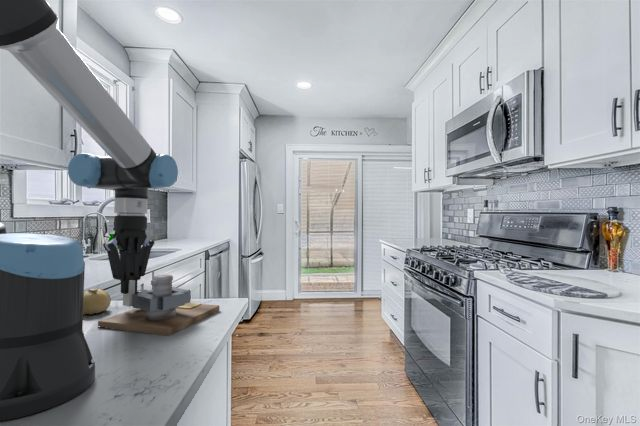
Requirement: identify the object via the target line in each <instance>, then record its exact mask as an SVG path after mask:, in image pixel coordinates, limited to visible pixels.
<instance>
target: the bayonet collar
mask: <svg viewBox="0 0 640 426" xmlns="http://www.w3.org/2000/svg"><path fill="white" fill-rule="evenodd" d="M186 303H191V289H190V290H189V289H185V288H179V287H175V286H172V293H171V294H166V295H161V296H155V295H152V289H137V291H136V292H135V293H134V294H132V306H131V307H132V308H133V309H136V308H138V309H141V310H145V311H148V312H153V311H157V310H167V309H171V308H176V307H180V306H184V305H185V304H186Z"/></svg>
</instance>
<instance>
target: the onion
mask: <svg viewBox="0 0 640 426" xmlns="http://www.w3.org/2000/svg"><path fill="white" fill-rule="evenodd" d="M111 302H112V297H111V295H110V293H109V292H107V291H106V290H103V289H100V287H98V288H89V289H88V290H86V291H84V297H83V315H84V314H89V315H93V314H94V313H96V314H98V313H102V311H103V312H106V310H108V309H109V307H110V306H111ZM94 315H95V314H94Z"/></svg>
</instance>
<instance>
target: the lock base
mask: <svg viewBox="0 0 640 426" xmlns="http://www.w3.org/2000/svg"><path fill="white" fill-rule="evenodd" d="M173 281H174V276H173V275H172V274H158V275H154V276H152V279H151V280H150V285H151V286H152V287H151V288H152V289H151V290H152V295H155V296H161V295H166V294H171V293H172V287H173ZM218 312H220V305H218V304H217V305H216V304H205V303H200V302H199V303H198V302H190V303H186V304H185V305H184V306H180V307H176V308H171V309H167V310H157V311H153V312H148V311H145V310H141V309H138V308H133V309H130V310H126V311H124V312H120V313H118V314H115V315H112V316H109V317H106V318H102V319H101V320H98V321H97V327H98V326H100V327H107V328H106V329H108V328H114V329H113V330H117V329H119V331H125V330H129V331H128V332H134V331H135V333H143V334H150V335H151V334H152V335H159V336H160V335H161V336H168V337H169V336H172V335H173V334H175V333H177V332H180V331H181V330H183V329H185V328H188V327H189V326H192V325H194V324H196V323H198V322H200V321H202V320H204V319H206V318H208V317H210V316H212V315H214V314H216V313H218ZM100 327H99V328H100Z"/></svg>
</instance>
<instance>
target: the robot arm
mask: <svg viewBox="0 0 640 426" xmlns="http://www.w3.org/2000/svg"><path fill="white" fill-rule="evenodd" d="M59 21H60V18H59V16H58V14H57V13H56V12H55V11H54V9H53V8H52V7H51V4H49V2H48V1H47V0H0V49H1V50H5V51H8V52H9V53H10V54H11V55H12V56H13V57H14V58H15V59H16V60H17V61H18V62H19V63H20V65H22V66H23V68H24V69H26V70H27V72H29V74H30V75H31V76H32V77H33V78H34V79H35V80H36V81H37V82H38V83H39V84H40V85H41V86H42V87H43V88H44V90H46V91H47V93H48V94H49V95H51V97H52V98H53V99H54V100H55V101H56V102H57V103H58V104H59V105H60V106H61V108H63V109H64V111H66V113H68V115H69V116H70V117H72V118H73V120H75V122H76V123H77V124H79V126H80V127H81V128H82V129H83V130H84V131H85V132H86V133H87V134H88V136H89V137H91V139H92V140H94V141H95V143H96V144H97V145H98V146H99V147H100V148H101V149H102V150H103V151H104V152H105V153H106V154H107V155H105V156H104V155H103V156H102V155H96V154H95V153H85V152H81V153H77V154H75V155H74V156H72V158H71V159H70V160H69V162H68V166H67V168H68V169H67V175H68V177H69V180H70V181H71V182H72V183H73V184H74V185H76V186H78V187H83V188H87V189H97V190H98V189H99V190H100V189H101V190H111V191H114V207H113V208H114V210H113V211H114V212H113V213H114V214H116V215H115V216H114V217H113V229H114V233H113V235H112V239H111V240H109V241H108V242H104V243H103V244H102V246H103V248H104V249H105V251H106V254H107V257H108V261H109V266H110V271H111V274H112V275H111V276H112V278H113V280H118V281H120V294H122V306H126V307H132V294H134V293H135V292H136V291H137V290H138V281H139V280H141V278H142V277H144V276H145V275H146V271H147V267H148V263H149V259H150V255H151V250H152V248H153V246H154V245H155V241H154V240H151V239H149V238H148V235H147V233H146V230H147V229H148V217H147V216H145V215H147V214H148V206H149V205H148V204H149V203H148V199H149V198H148V191H149V190H148V189H152V190H156V189H164V188H169V187H172V186H173V185H174V184H175V183H176V180H177V179H178V177H179V176H178V174H179V169H178V165H177V162H176V160H175V159H174V158H173V156H170V155H169V154H167V153H166V154H163V153H156V152H155V150H154V149H153V148H152V146H151V145H150V144H149V142H147V140H146V139H145V137H144V136H143V135H142V133H140V131H139V130H138V129H137V126H135V125H134V123H133V122H132V121H131V120H130V118H129V117H128V115H126V113H125V112H124V111H123V109H122V108H121V106H120V105H119V104H118V103H117V101H116V100H115V99H114V98H113V96H112V95H111V93H109V91H108V90H107V88H105V86H104V85H103V83H101V81H100V80H99V78H98V77H97V76H96V74H94V72H93V71H92V70H91V69H90V67H89V66H88V64H87V63H86V62H85V61H84V59H83V58H82V57H81V55H80V54H79V53H78V51H77V50H76V49H75V47H73V45H72V44H71V43H70V42H69V40H68V39H67V37H66V36H65V35H64V34H63V33H62V31H61V29H60V28H59ZM84 260H85V259H84V248H83V246H82V244H81V242H80V241H78V240H77V239H74V238H71V237H69V236H62V235H54V234H46V233H45V234H42V233H41V234H40V233H39V234H38V233H23V232H21V233H19V232H17V233H16V232H15V233H7V228H6V224H4V223H3V222H1V221H0V422H1V421H7V420H12V419H13V420H14V419H17V418H23V417H25V416H29V415H33V414H37V413H41V412H42V411H46V410H48V409H51V408H54V407H56V406H58V405H61V404H64V403H65V402H68V401H70V400H72V399H74V398H75V397H77V396H79V395H80V394H82V393H84V392H85V391H86V390H87V389H89V388H90V386H92V384H93V383H94V382H95V378H96V363H95V359H94V358H93V356H92V352H91V350H90V347H89V345H88V342H87V340H86V337H85V334H84V330H83V329H84V328H83V326H84V325H83V319H84V318H83V317H84V314H83V297H84V293H85V269H86V263H85V262H86V261H84Z"/></svg>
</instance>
